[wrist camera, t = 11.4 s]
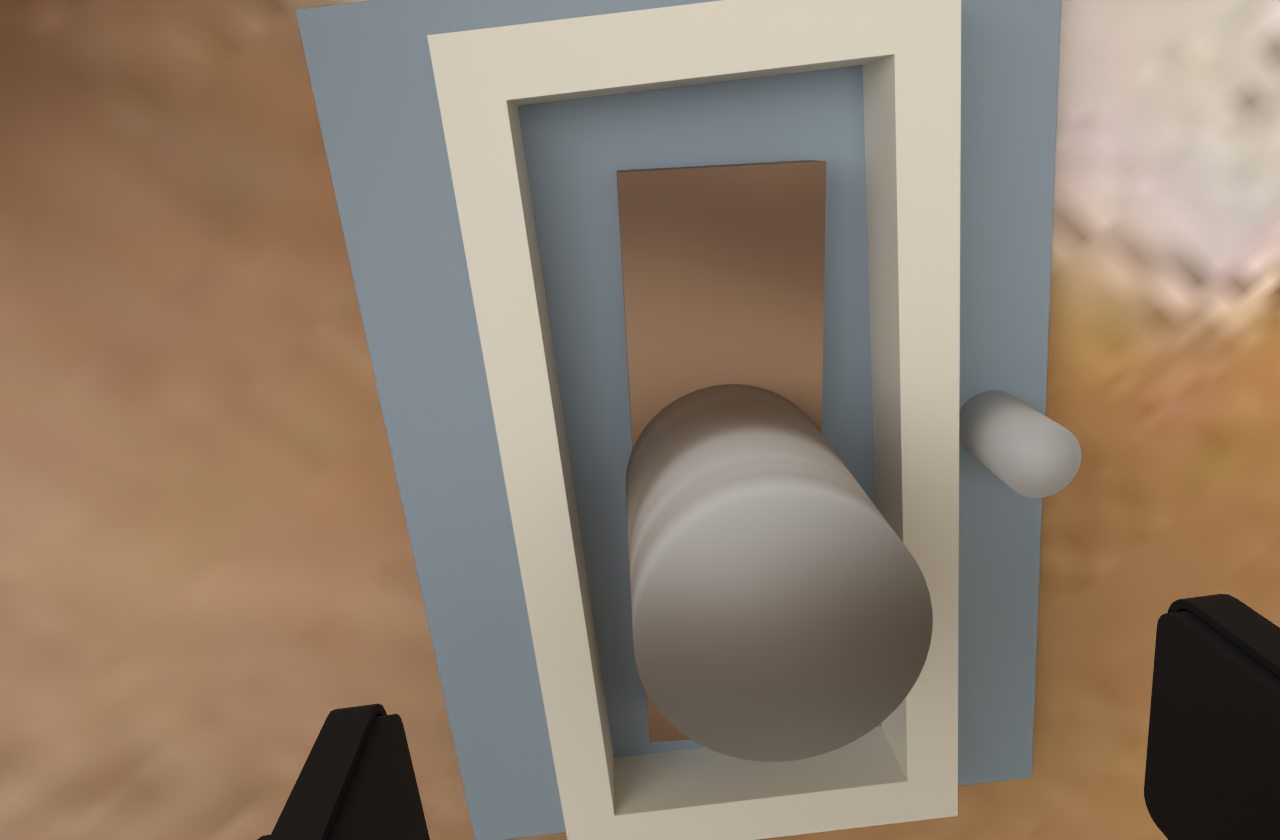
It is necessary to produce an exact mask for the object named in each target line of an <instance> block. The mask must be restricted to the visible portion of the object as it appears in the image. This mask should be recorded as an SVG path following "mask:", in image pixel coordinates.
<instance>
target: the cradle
mask: <svg viewBox="0 0 1280 840" xmlns="http://www.w3.org/2000/svg"><path fill="white" fill-rule="evenodd" d="M295 12H296V17H297V21H298V26H299V30H300V35H301V40H302V44H303V49H304V54H305V58H306V63H307V67H308V72H309V77H310V81H311V86H312V90H313V95H314V100H315V104H316V109H317V113H318V118H319V123H320V127H321V132H322V137H323V141H324V146H325V150H326V155H327V160H328V164H329V169H330V173H331V178H332V183H333V187H334V192H335V196H336V201H337V206H338V210H339V215H340V219H341V224H342V229H343V233H344V238H345V243H346V247H347V252H348V256H349V261H350V266H351V270H352V275H353V279H354V284H355V289H356V293H357V298H358V302H359V307H360V312H361V316H362V321H363V325H364V330H365V335H366V339H367V344H368V349H369V353H370V358H371V362H372V367H373V372H374V376H375V381H376V385H377V390H378V395H379V399H380V404H381V408H382V413H383V418H384V422H385V427H386V432H387V436H388V441H389V445H390V450H391V455H392V459H393V464H394V468H395V473H396V478H397V482H398V487H399V491H400V496H401V501H402V505H403V510H404V514H405V519H406V524H407V528H408V533H409V538H410V542H411V547H412V551H413V556H414V561H415V565H416V570H417V574H418V579H419V584H420V588H421V593H422V597H423V602H424V607H425V611H426V616H427V620H428V625H429V630H430V634H431V639H432V644H433V648H434V653H435V657H436V662H437V667H438V671H439V676H440V680H441V685H442V690H443V694H444V699H445V703H446V708H447V713H448V717H449V722H450V726H451V731H452V736H453V740H454V745H455V750H456V754H457V759H458V763H459V768H460V773H461V777H462V782H463V786H464V791H465V796H466V800H467V805H468V809H469V814H470V819H471V823H472V828H473V833H474V837H475V840H505V839H513V838H522V837H530V836H539V835H547V834H556V833H564V832H566V834H567V840H757V839H765V838H774V837H782V836H791V835H799V834H808V833H816V832H825V831H833V830H842V829H850V828H859V827H867V826H876V825H884V824H893V823H901V822H910V821H918V820H927V819H935V818H944V817H952V816H958V786H964V785H972V784H981V783H989V782H998V781H1006V780H1015V779H1023V778H1032V762H1033V735H1034V708H1035V682H1036V655H1037V628H1038V602H1039V575H1040V549H1041V522H1042V498H1044V497H1048V496H1051V495H1054V494H1056V493H1058V492H1060V491H1061V490H1063V489H1064V488H1065V487H1067V486H1068V485H1069V484H1070V483H1071V481H1072V480H1073V479H1074V478H1075V476H1076V474H1077V473H1078V470H1079V468H1080V465H1081V459H1082V451H1081V446H1080V443H1079V441H1078V439H1077V438H1076V437H1075V435H1074V434H1073V433H1072V432H1071V431H1069V430H1068V429H1066V428H1065V427H1063V426H1061V425H1060V424H1058V423H1056V422H1055V421H1053V420H1051V419H1050V418H1048V417H1047V416H1046V389H1047V362H1048V336H1049V309H1050V282H1051V256H1052V229H1053V203H1054V176H1055V149H1056V123H1057V96H1058V69H1059V43H1060V16H1061V0H373V1H364V2H356V3H347V4H339V5H330V6H322V7H314V8H305V9H297V10H295ZM802 160H816V161H826V208H825V271H824V334H823V397H822V435H823V437H824V438H825V439H826V441H827V442H828V443H829V445H830V446H831V447H832V449H833V450H834V451H835V453H836V454H837V455H838V457H839V458H840V459H841V461H842V462H843V463H844V465H845V466H846V467H847V469H848V470H849V471H850V473H851V474H852V475H853V477H854V478H855V480H856V481H857V482H858V484H859V485H860V486H861V488H862V489H863V490H864V492H865V493H866V494H867V496H868V497H869V498H870V500H871V501H872V502H873V504H874V505H875V506H876V508H877V509H878V510H879V512H880V513H881V514H882V516H883V517H884V518H885V520H886V521H887V522H888V524H889V525H890V526H891V528H892V529H893V530H894V532H895V533H896V534H897V536H898V537H899V538H900V540H901V541H902V542H903V544H904V545H905V546H906V548H907V549H908V550H909V552H910V553H911V555H912V556H913V557H914V559H915V560H916V562H917V564H918V566H919V568H920V570H921V572H922V573H923V575H924V578H925V581H926V584H927V587H928V590H929V593H930V598H931V604H932V611H933V629H932V636H931V644H930V648H929V651H928V655H927V658H926V662H925V664H924V666H923V668H922V671H921V673H920V675H919V678H918V679H917V681H916V683H915V684H914V686H913V687H912V689H911V691H910V692H909V694H908V695H907V696H906V698H905V699H904V700H903V701H902V703H901V704H900V705H899V706H898V707H897V708H896V709H895V710H894V711H893V712H892V713H891V714H890V715H889V716H888V717H887V718H886V719H885V720H884V721H883V722H882V723H880V724H879V725H878V726H876V727H875V728H874V729H873V730H871V731H870V732H868V733H867V734H865V735H863V736H862V737H860V738H859V739H857V740H855V741H853V742H851V743H849V744H847V745H845V746H843V747H841V748H839V749H836V750H833V751H830V752H827V753H825V754H822V755H818V756H814V757H809V758H805V759H800V760H792V761H782V762H763V761H753V760H745V759H740V758H735V757H731V756H727V755H724V754H721V753H718V752H715V751H712V750H710V749H708V748H706V747H704V746H702V745H700V744H698V743H696V742H694V741H693V740H678V741H663V742H650V741H649V726H648V712H647V696H646V690H645V688H644V686H643V684H642V682H641V679H640V676H639V672H638V669H637V666H636V661H635V653H634V644H633V624H632V604H631V584H630V564H629V544H628V524H627V504H626V473H627V466H628V462H629V459H630V455H631V452H632V434H631V417H630V399H629V382H628V364H627V347H626V329H625V312H624V294H623V277H622V260H621V242H620V225H619V207H618V190H617V172H616V171H617V170H636V169H654V168H673V167H691V166H710V165H728V164H747V163H765V162H784V161H802Z"/></svg>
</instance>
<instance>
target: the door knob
mask: <svg viewBox="0 0 1280 840" xmlns="http://www.w3.org/2000/svg"><path fill="white" fill-rule="evenodd" d="M616 172H617V190H618V207H619V225H620V242H621V260H622V277H623V294H624V312H625V329H626V347H627V364H628V382H629V399H630V417H631V434H632V452H631V455H630V459H629V462H628V466H627V473H626V504H627V524H628V544H629V564H630V584H631V604H632V624H633V644H634V653H635V661H636V666H637V669H638V672H639V676H640V679H641V682H642V684H643V686H644V688H645V690H646V696H647V712H648V726H649V741H650V742H663V741H678V740H693V741H694V742H696V743H698V744H700V745H702V746H704V747H706V748H708V749H710V750H712V751H715V752H718V753H721V754H724V755H727V756H731V757H735V758H740V759H745V760H753V761H763V762H782V761H792V760H800V759H805V758H809V757H814V756H818V755H822V754H825V753H827V752H830V751H833V750H836V749H839V748H841V747H843V746H845V745H847V744H849V743H851V742H853V741H855V740H857V739H859V738H860V737H862V736H863V735H865V734H867V733H868V732H870V731H871V730H873V729H874V728H875V727H876V726H878V725H879V724H880V723H882V722H883V721H884V720H885V719H886V718H887V717H888V716H889V715H890V714H891V713H892V712H893V711H894V710H895V709H896V708H897V707H898V706H899V705H900V704H901V703H902V701H903V700H904V699H905V698H906V696H907V695H908V694H909V692H910V691H911V689H912V687H913V686H914V684H915V683H916V681H917V679H918V678H919V675H920V673H921V671H922V668H923V666H924V664H925V662H926V658H927V655H928V651H929V648H930V644H931V636H932V629H933V611H932V604H931V598H930V593H929V590H928V587H927V584H926V581H925V578H924V575H923V573H922V572H921V570H920V568H919V566H918V564H917V562H916V560H915V559H914V557H913V556H912V555H911V553H910V552H909V550H908V549H907V548H906V546H905V545H904V544H903V542H902V541H901V540H900V538H899V537H898V536H897V534H896V533H895V532H894V530H893V529H892V528H891V526H890V525H889V524H888V522H887V521H886V520H885V518H884V517H883V516H882V514H881V513H880V512H879V510H878V509H877V508H876V506H875V505H874V504H873V502H872V501H871V500H870V498H869V497H868V496H867V494H866V493H865V492H864V490H863V489H862V488H861V486H860V485H859V484H858V482H857V481H856V480H855V478H854V477H853V475H852V474H851V473H850V471H849V470H848V469H847V467H846V466H845V465H844V463H843V462H842V461H841V459H840V458H839V457H838V455H837V454H836V453H835V451H834V450H833V449H832V447H831V446H830V445H829V443H828V442H827V441H826V439H825V438H824V437H823V435H822V397H823V334H824V271H825V208H826V161H816V160H802V161H784V162H765V163H747V164H728V165H710V166H691V167H673V168H654V169H636V170H617V171H616Z"/></svg>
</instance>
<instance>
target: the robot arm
mask: <svg viewBox="0 0 1280 840" xmlns="http://www.w3.org/2000/svg"><path fill="white" fill-rule="evenodd" d="M1144 797H1145V802H1146V806H1147V808H1148V811H1149V814H1150V815H1151V817H1152V819H1153V821H1154V822H1155V824H1156V825H1157V827H1158V828H1159V829H1160V830H1161V831H1162V832H1163V834H1164V835H1165V836H1166V837H1167V838H1168V840H1280V628H1279V627H1278V626H1276V625H1275V624H1273V623H1272V622H1270V621H1269V620H1267V619H1266V618H1264V617H1263V616H1261V615H1260V614H1258V613H1257V612H1255V611H1254V610H1252V609H1251V608H1250V607H1248V606H1247V605H1245V604H1244V603H1242V602H1241V601H1239V600H1238V599H1236V598H1234V597H1232V596H1230V595H1228V594H1217V595H1210V596H1202V597H1194V598H1187V599H1179V600H1176V601H1175V602H1173V603H1172V604H1171V606H1170V607H1169V610H1168V613H1165V614H1163V615H1161V617H1160V618H1159V620H1158V624H1157V633H1156V646H1155V659H1154V671H1153V684H1152V697H1151V709H1150V722H1149V735H1148V747H1147V760H1146V772H1145V785H1144ZM258 840H430V838H429V834H428V830H427V825H426V821H425V817H424V813H423V808H422V804H421V800H420V795H419V791H418V787H417V782H416V778H415V774H414V770H413V765H412V761H411V757H410V752H409V748H408V744H407V739H406V735H405V731H404V727H403V723H402V720H401V718H400V716H399V715H398V714H392V715H387V714H386V711H385V709H384V708H383V706H382V705H380V704H373V705H365V706H358V707H350V708H342V709H335V710H333V711H331V712H330V714H329V715H328V717H327V719H326V721H325V723H324V725H323V727H322V729H321V731H320V733H319V735H318V737H317V740H316V742H315V744H314V746H313V748H312V750H311V752H310V754H309V756H308V758H307V761H306V763H305V765H304V767H303V769H302V771H301V773H300V775H299V777H298V779H297V781H296V784H295V786H294V788H293V790H292V792H291V794H290V796H289V798H288V800H287V802H286V805H285V807H284V809H283V811H282V813H281V815H280V817H279V819H278V821H277V823H276V826H275V828H274V830H273V832H272V834H271V835H266V836H262V837H260V838H259V839H258Z"/></svg>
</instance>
